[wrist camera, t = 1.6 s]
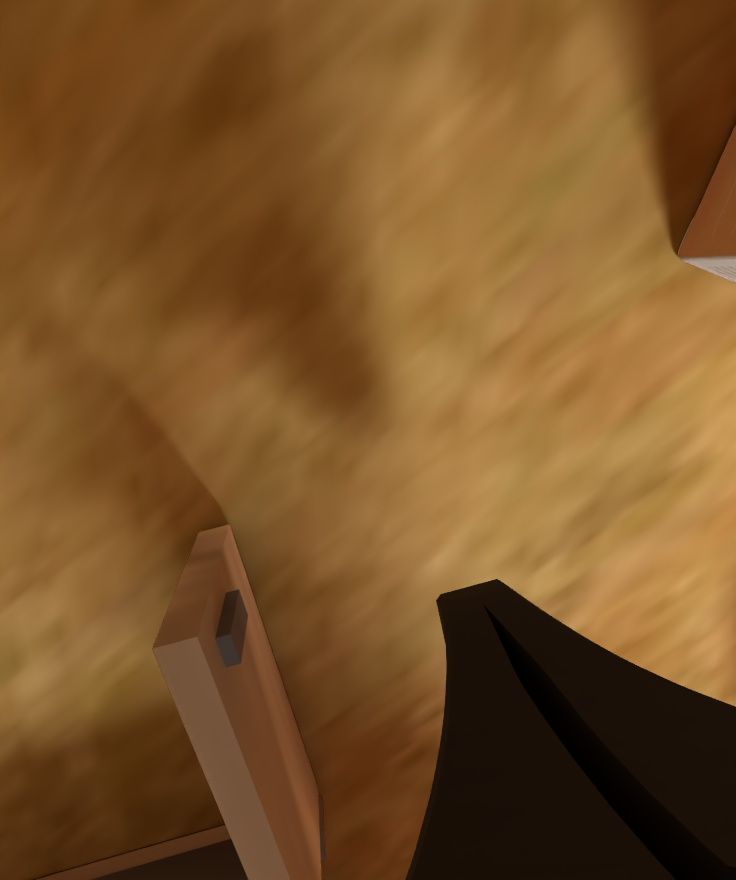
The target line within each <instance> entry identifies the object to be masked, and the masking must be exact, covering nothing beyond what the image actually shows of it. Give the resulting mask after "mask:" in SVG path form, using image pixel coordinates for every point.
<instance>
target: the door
mask: <svg viewBox="0 0 736 880" xmlns="http://www.w3.org/2000/svg"><path fill="white" fill-rule="evenodd" d="M152 650H153V653H154V655H155V657H156V660H157V662H158V664H159V667H160V669H161V672H162V674H163V676H164V679H165V681H166V684H167V686H168V688H169V691H170V693H171V696H172V698H173V700H174V703H175V705H176V708H177V710H178V712H179V715H180V717H181V719H182V722H183V724H184V727H185V729H186V731H187V734H188V736H189V739H190V741H191V743H192V746H193V748H194V751H195V753H196V755H197V758H198V760H199V762H200V765H201V767H202V770H203V772H204V774H205V777H206V779H207V782H208V784H209V786H210V789H211V791H212V794H213V796H214V798H215V801H216V803H217V805H218V808H219V810H220V813H221V815H222V817H223V820H224V822H225V825H226V827H227V829H228V832H229V834H230V837H231V839H232V841H233V844H234V846H235V848H236V851H237V853H238V856H239V858H240V860H241V863H242V865H243V868H244V870H245V872H246V875H247V877H248V880H321V863H322V862H323V861H324V859H325V857H326V850H325V829H324V808H323V799H322V797H321V796H320V795H319V794H318V786H317V783H316V780H315V777H314V774H313V771H312V768H311V766H310V763H309V760H308V757H307V754H306V751H305V748H304V745H303V742H302V739H301V736H300V733H299V730H298V727H297V724H296V721H295V718H294V715H293V712H292V709H291V706H290V703H289V700H288V697H287V694H286V691H285V688H284V685H283V682H282V679H281V676H280V673H279V670H278V667H277V664H276V661H275V658H274V656H273V653H272V650H271V647H270V644H269V641H268V638H267V635H266V632H265V629H264V626H263V623H262V620H261V617H260V614H259V611H258V608H257V605H256V602H255V599H254V596H253V593H252V590H251V587H250V584H249V581H248V578H247V575H246V572H245V569H244V566H243V563H242V560H241V557H240V554H239V551H238V549H237V546H236V543H235V540H234V537H233V534H232V531H231V528H230V525H229V524H228V525H225V526H221V527H217V528H213V529H209V530H205V531H201V532H199V533H198V535H197V538H196V540H195V543H194V545H193V548H192V550H191V553H190V555H189V558H188V560H187V563H186V565H185V568H184V570H183V573H182V575H181V578H180V580H179V583H178V585H177V588H176V590H175V593H174V595H173V598H172V600H171V603H170V605H169V608H168V610H167V613H166V615H165V618H164V620H163V623H162V625H161V628H160V630H159V633H158V635H157V638H156V640H155V643H154V645H153V648H152Z"/></svg>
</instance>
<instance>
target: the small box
mask: <svg viewBox="0 0 736 880" xmlns="http://www.w3.org/2000/svg"><path fill="white" fill-rule="evenodd" d="M678 257H679V259H681V260H682V261H684V262H686V263H689V264H691V265H694V266H696V267H699V268H701V269H704V270H706V271H708V272H711V273H713V274H716V275H718V276H721V277H723V278H726V279H728V280H731V281H733V282H736V125H735V127H734V129H733V131H732V134H731V136H730V138H729V140H728V142H727V145H726V147H725V149H724V151H723V154H722V156H721V158H720V160H719V163H718V165H717V167H716V169H715V171H714V174H713V176H712V178H711V180H710V183H709V185H708V187H707V189H706V192H705V194H704V196H703V199H702V201H701V203H700V205H699V208H698V210H697V212H696V214H695V216H694V218H693V219H692V221H691V223H690V224H689V227H688V229H687V231H686V233H685V236H684V238H683V240H682V242H681V245H680V247H679V250H678Z"/></svg>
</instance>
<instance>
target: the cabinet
mask: <svg viewBox="0 0 736 880" xmlns="http://www.w3.org/2000/svg"><path fill="white" fill-rule="evenodd" d="M36 880H248V877H247V875H246V872H245V870H244V868H243V865H242V863H241V860H240V858H239V856H238V853H237V851H236V848H235V846H234V844H233V841H232V839H231V837H230V834H229V832H228V829H227V827H226V825H223V826H219V827H216V828H212V829H209V830H205V831H202V832H198V833H195V834H191V835H188V836H185V837H181V838H178V839H174V840H171V841H167V842H164V843H160V844H157V845H153V846H150V847H147V848H143V849H140V850H136V851H133V852H129V853H126V854H122V855H119V856H115V857H112V858H108V859H105V860H102V861H98V862H95V863H91V864H88V865H84V866H81V867H77V868H74V869H70V870H67V871H63V872H60V873H57V874H53V875H50V876H46V877H43V878H39V879H36Z"/></svg>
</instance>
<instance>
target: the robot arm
mask: <svg viewBox="0 0 736 880" xmlns="http://www.w3.org/2000/svg"><path fill="white" fill-rule="evenodd" d="M436 602H437V606H438V611H439V616H440V620H441V625H442V629H443V634H444V639H445V643H446V659H447V674H446V696H445V709H444V719H443V727H442V735H441V742H440V748H439V754H438V759H437V765H436V770H435V775H434V780H433V785H432V790H431V794H430V798H429V802H428V806H427V810H426V813H425V817H424V821H423V824H422V828H421V832H420V835H419V839H418V843H417V846H416V850H415V853H414V856H413V859H412V863H411V865H410V868H409V871H408V874H407V877H406V880H736V707H735V706H732V705H730V704H727V703H724V702H722V701H719V700H716V699H714V698H711V697H708V696H706V695H703V694H701V693H698V692H695V691H693V690H691V689H688V688H686V687H683V686H681V685H679V684H676V683H674V682H671V681H669V680H667V679H665V678H663V677H661V676H658V675H656V674H654V673H652V672H650V671H648V670H646V669H643V668H641V667H639V666H637V665H635V664H633V663H631V662H629V661H627V660H625V659H623V658H621V657H619V656H617V655H615V654H613V653H612V652H610V651H608V650H606V649H604V648H603V647H601V646H599V645H597V644H595V643H594V642H592V641H590V640H589V639H587V638H585V637H584V636H582V635H580V634H579V633H577V632H575V631H574V630H572V629H571V628H569V627H567V626H566V625H564V624H563V623H561V622H560V621H558V620H556V619H555V618H553V617H552V616H550V615H549V614H547V613H546V612H544V611H543V610H541V609H540V608H538V607H537V606H535V605H534V604H533V603H531V602H530V601H528V600H527V599H525V598H524V597H523V596H521V595H520V594H518V593H517V592H516V591H514V590H513V589H511V588H510V587H509V586H507V585H506V584H504V583H503V582H501V581H500V580H498V579H495V580H492V581H488V582H484V583H481V584H477V585H473V586H470V587H466V588H462V589H459V590H455V591H451V592H447V593H444V594H441V595H440V596H439V597H438V599H437V600H436Z"/></svg>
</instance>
